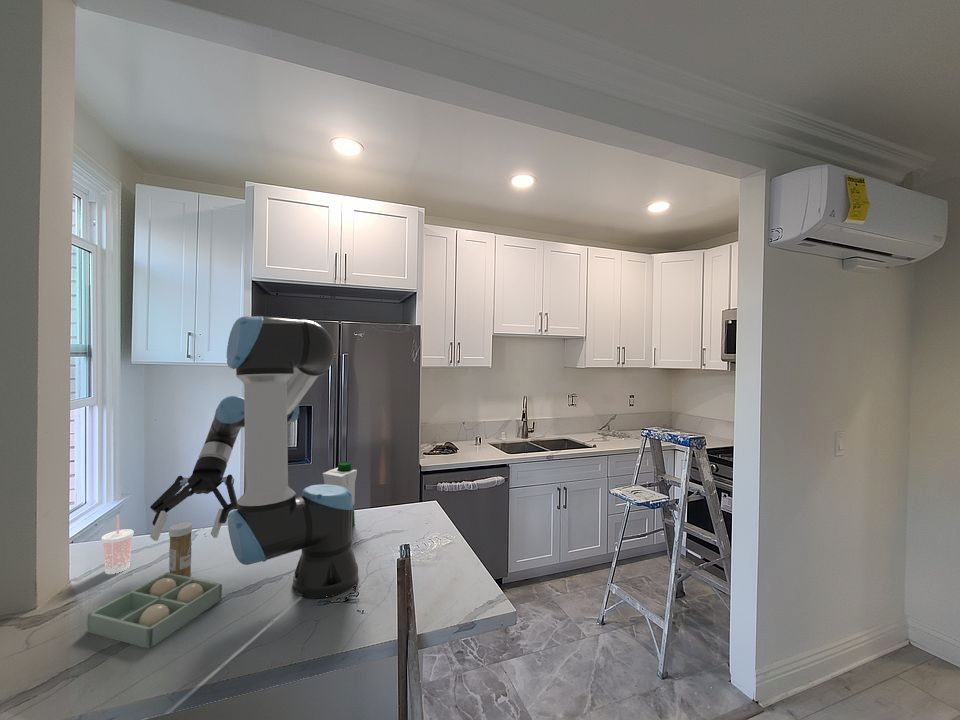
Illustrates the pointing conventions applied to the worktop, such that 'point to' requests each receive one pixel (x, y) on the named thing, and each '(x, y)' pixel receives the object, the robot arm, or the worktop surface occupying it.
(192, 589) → the egg
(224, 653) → the worktop surface
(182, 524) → the sprinkles bottle
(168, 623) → the carton
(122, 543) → the beverage cup
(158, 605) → the egg
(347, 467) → the milk carton
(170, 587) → the egg
